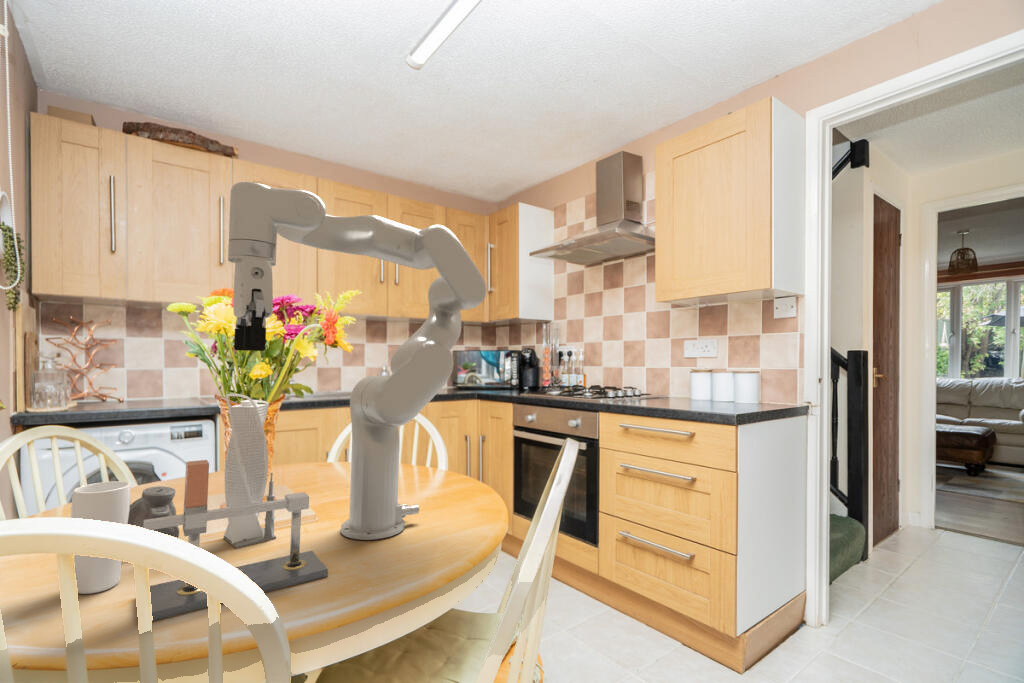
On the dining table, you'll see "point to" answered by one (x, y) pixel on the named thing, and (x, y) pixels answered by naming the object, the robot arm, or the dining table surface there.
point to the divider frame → (290, 502)
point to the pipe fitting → (154, 508)
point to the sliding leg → (196, 500)
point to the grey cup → (106, 506)
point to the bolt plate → (265, 573)
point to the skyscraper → (247, 472)
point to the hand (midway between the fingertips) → (249, 350)
